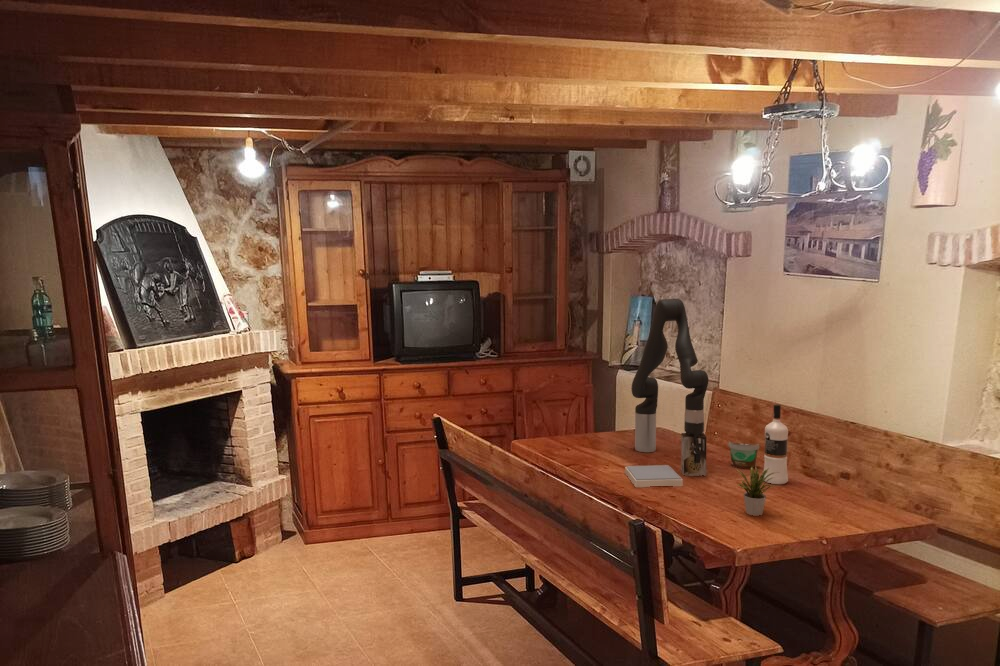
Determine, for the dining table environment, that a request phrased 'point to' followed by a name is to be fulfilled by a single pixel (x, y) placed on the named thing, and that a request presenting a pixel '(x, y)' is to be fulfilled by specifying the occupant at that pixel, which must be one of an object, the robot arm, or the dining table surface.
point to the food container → (743, 455)
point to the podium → (653, 476)
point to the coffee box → (692, 456)
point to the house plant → (755, 492)
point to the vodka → (776, 449)
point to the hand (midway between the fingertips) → (693, 460)
